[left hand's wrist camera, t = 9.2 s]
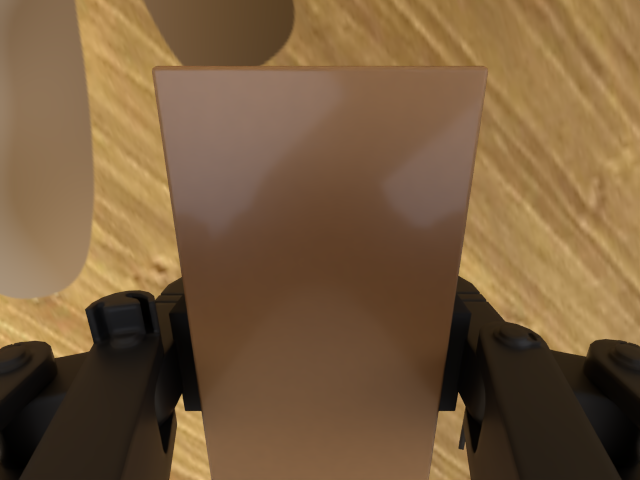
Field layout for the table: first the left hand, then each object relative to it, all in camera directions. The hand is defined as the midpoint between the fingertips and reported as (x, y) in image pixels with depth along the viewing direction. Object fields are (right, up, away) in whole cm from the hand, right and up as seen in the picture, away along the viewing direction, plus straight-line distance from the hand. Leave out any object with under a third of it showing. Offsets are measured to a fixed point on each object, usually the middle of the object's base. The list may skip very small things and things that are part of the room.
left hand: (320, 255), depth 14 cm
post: (0, -24, +9) cm, 26 cm away
